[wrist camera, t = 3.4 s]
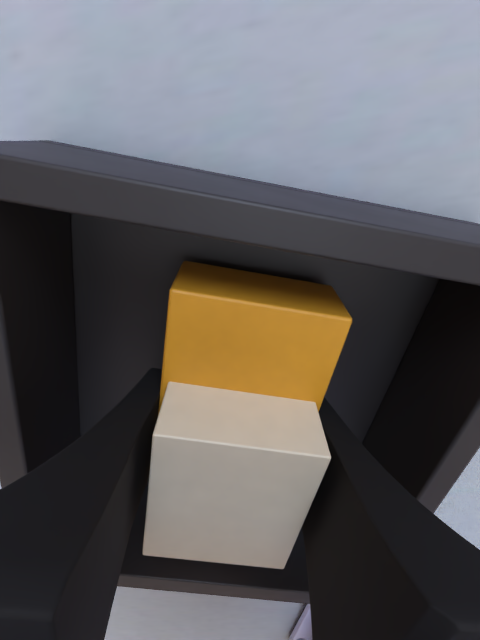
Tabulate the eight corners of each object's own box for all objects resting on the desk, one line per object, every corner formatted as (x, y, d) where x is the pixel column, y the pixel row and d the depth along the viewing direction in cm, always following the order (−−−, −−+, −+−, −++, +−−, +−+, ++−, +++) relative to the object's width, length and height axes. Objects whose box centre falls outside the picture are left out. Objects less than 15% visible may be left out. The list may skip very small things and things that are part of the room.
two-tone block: (266, 475, 15) (276, 602, 11) (162, 462, 14) (132, 589, 10) (328, 278, 11) (383, 364, 7) (185, 254, 10) (150, 328, 6)
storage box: (339, 507, 17) (367, 610, 13) (70, 475, 16) (19, 577, 12) (478, 223, 10) (607, 268, 7) (47, 140, 9) (-74, 139, 6)
